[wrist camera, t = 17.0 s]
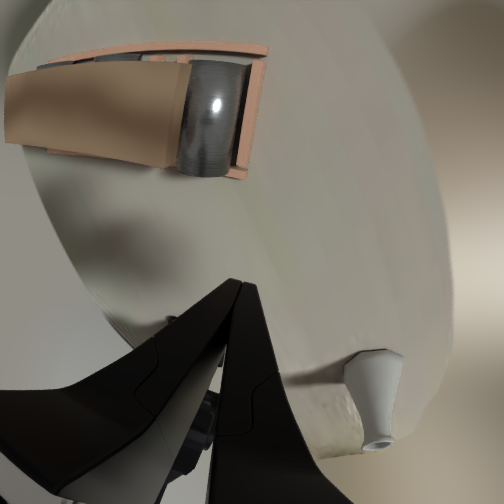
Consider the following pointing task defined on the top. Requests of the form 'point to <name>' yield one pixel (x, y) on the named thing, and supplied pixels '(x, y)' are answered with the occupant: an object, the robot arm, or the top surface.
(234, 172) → the roller track
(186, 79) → the walnut board
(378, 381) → the flask
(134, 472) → the robot arm
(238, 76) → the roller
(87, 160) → the top surface
